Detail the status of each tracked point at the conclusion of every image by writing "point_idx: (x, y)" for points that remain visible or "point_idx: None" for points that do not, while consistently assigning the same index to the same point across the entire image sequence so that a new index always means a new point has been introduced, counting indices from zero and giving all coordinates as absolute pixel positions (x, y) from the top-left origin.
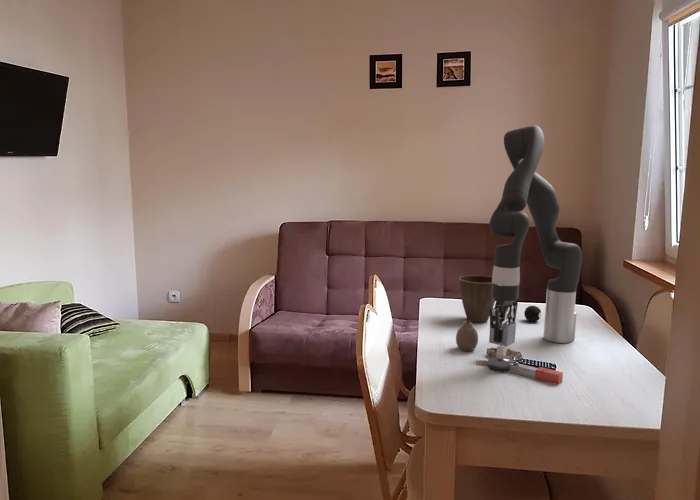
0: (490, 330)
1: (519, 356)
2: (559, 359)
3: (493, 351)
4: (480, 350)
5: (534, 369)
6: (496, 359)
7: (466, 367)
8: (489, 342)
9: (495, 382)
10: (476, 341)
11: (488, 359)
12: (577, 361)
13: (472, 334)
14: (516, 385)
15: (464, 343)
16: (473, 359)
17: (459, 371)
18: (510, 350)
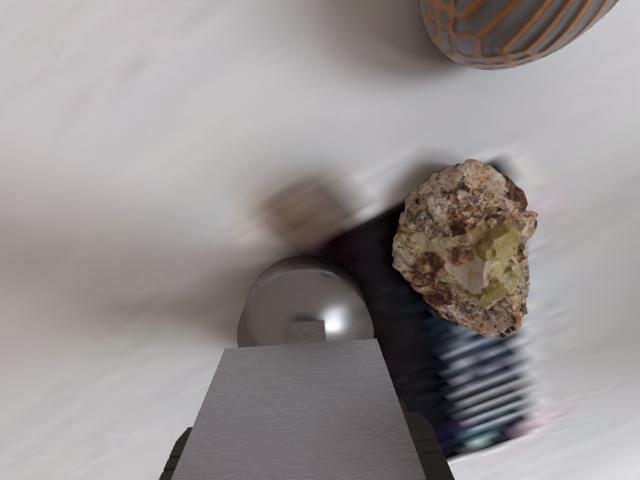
0: (188, 443)
1: (480, 332)
2: (597, 423)
3: (440, 220)
4: (506, 90)
5: None
6: (263, 334)
7: (181, 191)
8: (225, 353)
9: (128, 376)
10: (500, 67)
11: (265, 282)
12: (612, 473)
13: (504, 24)
14: (171, 439)
15: (424, 4)
16: (324, 149)
17: (100, 197)
18: (496, 296)
